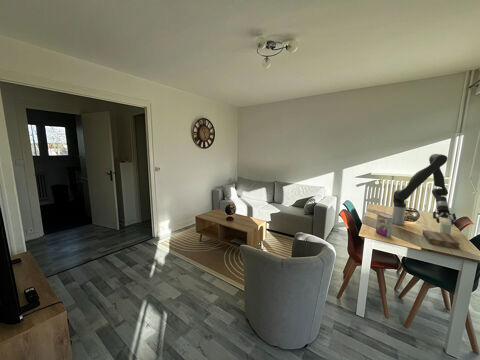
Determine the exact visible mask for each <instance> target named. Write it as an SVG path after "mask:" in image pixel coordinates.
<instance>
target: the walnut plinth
mask: <svg viewBox="0 0 480 360" xmlns="http://www.w3.org/2000/svg"><path fill="white" fill-rule="evenodd" d="M422 236H423V237H424V239H425V240H426V241H427V242H428V243H429V244H430V245H434V246H435V245H436V246H441V247H446V246H447V248H452V247H453V249H457V248H458V249H460V242H459V241H457V239H455V238H454V237H453V236H452V235H451V233H450V234H446V233H440V231H432V230H427V229H426V230H424V229H422Z"/></svg>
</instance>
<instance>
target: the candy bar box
mask: <svg viewBox="0 0 480 360" xmlns="http://www.w3.org/2000/svg"><path fill="white" fill-rule="evenodd" d="M393 225H394V224H393V218H392V216H389V215H386V214H384V213H378V214H377V216H376V226H375V233H377V234H379V235H381V236H383V237H386V238H391V237H392V234H393V232H392V231H393Z"/></svg>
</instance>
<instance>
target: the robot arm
mask: <svg viewBox="0 0 480 360" xmlns="http://www.w3.org/2000/svg"><path fill="white" fill-rule="evenodd" d="M428 160H429V165H428V166H426V167H424V168H422V169H420V170H419V171H417V172H415V173H414V174H413V176H411V178H410V179H409V181H408V183H407V185H406V186H405V187H404V188H402V189H396V190H395V191H394V192H393V196H392V197H393V198H392V201H393V209H392V212H391V213H392V214H391V217H392V218H393V225H395V226H396V225H397V226H403V225H404V224H405V217H406V216H405V215H406V208H407V205H406V203H405V200H408V198H410V197H411V195H413V193H414V192H415V191H416V189H418V188H419V187H420V186H421V185H422V184H423V183H424V182H425V181H426V180H428V179H429V178H430V177H431V176H433V185H434V187H439V188H433V189H432V190H431V194H432V196H433V197H434V199H435V203H436V204H435V205H436V210H437V212H436V211H433V212H432V218H433V219H435V220H436V223H437V224H441V223H440V222H441V221H440V218H442V219H444V218H445V219H447V220H450V224H451V225H452V226H454V225H455V222H456V220H457V215H456V213H455V212H454V213H451V212H450V208H449V207H450V206H449V204H448V200H447V197H446V196H447V195H448V194H449V191H448V189H447V188H446V187H447V186H446V185H445V184H446V183H445V182H446V181H445V176H444V173H443V172H442V169H441V167H442V166H444V165H445V164H446V163H447V161H448V157H447V155H445V154H442V153H441V154H438V153H433V154H431V155H430V156H429V159H428Z"/></svg>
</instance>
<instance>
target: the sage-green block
mask: <svg viewBox="0 0 480 360" xmlns="http://www.w3.org/2000/svg"><path fill="white" fill-rule="evenodd" d="M440 222H441V221H440ZM452 226H453V225H451V223H448V222H441V223H440V228H439V232H440V233H446V234H450V235H451V231H452Z"/></svg>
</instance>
